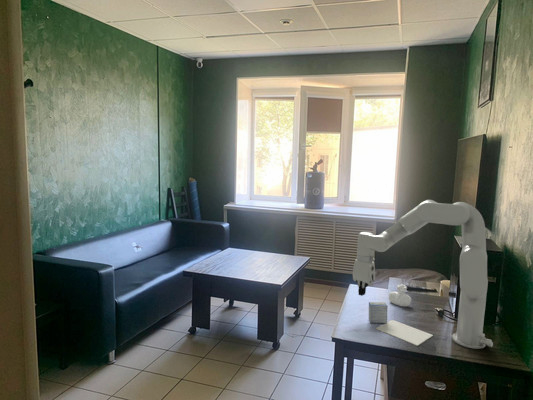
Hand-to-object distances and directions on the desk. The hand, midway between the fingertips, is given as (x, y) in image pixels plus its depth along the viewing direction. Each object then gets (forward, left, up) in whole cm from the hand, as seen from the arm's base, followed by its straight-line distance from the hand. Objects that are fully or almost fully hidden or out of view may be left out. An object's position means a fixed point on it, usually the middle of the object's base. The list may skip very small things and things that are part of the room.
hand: (361, 294), depth 183 cm
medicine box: (-9, 0, -10) cm, 14 cm away
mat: (-23, 0, -10) cm, 25 cm away
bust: (-4, -29, -11) cm, 31 cm away
